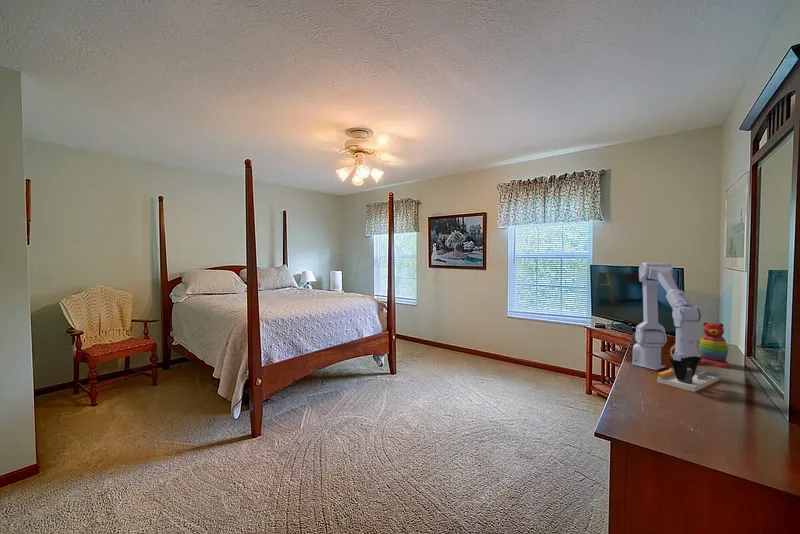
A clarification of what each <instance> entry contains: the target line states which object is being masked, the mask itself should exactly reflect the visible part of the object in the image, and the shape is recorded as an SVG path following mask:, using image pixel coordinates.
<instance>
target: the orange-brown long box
mask: <svg viewBox="0 0 800 534" xmlns="http://www.w3.org/2000/svg"><path fill="white" fill-rule="evenodd" d="M673 374H675V371H674V368H673V367H669V368H668V369H666V370H663V371H660V372H658V373H657V378H658V377H660V378H665V377H668V376H670V375H673Z"/></svg>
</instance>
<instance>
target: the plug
mask: <svg viewBox="0 0 800 534" xmlns="http://www.w3.org/2000/svg"><path fill="white" fill-rule="evenodd" d="M692 378H693V370H692V369H690V368H687V372H686V377H685V380H684V381H683V380H679V379H678V381H679V382H682V383H688V384H691V383H692Z"/></svg>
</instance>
